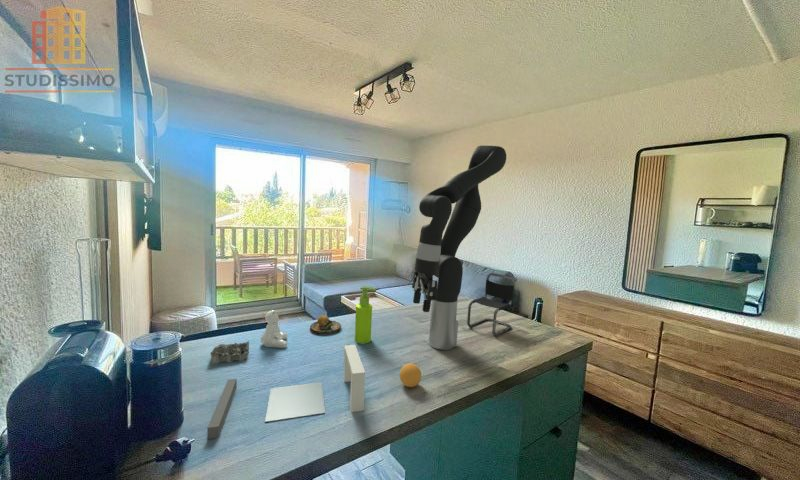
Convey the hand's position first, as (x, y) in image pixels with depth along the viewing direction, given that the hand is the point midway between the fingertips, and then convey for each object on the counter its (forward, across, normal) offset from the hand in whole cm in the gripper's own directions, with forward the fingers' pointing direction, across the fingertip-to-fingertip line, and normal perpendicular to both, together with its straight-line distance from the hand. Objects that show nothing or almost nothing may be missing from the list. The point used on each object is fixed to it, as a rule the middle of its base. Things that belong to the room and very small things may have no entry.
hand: (420, 307), depth 99 cm
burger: (+20, +30, +26) cm, 45 cm away
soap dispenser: (+19, +17, +13) cm, 29 cm away
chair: (+14, +19, -42) cm, 48 cm away
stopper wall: (+22, -14, +52) cm, 58 cm away
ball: (+15, -14, +6) cm, 21 cm away
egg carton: (+23, +13, +56) cm, 62 cm away
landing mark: (+21, -14, +36) cm, 44 cm away
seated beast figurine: (+22, +20, +44) cm, 53 cm away
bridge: (+19, -14, +22) cm, 32 cm away
